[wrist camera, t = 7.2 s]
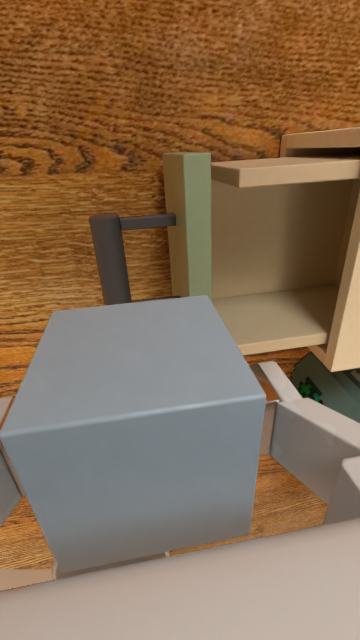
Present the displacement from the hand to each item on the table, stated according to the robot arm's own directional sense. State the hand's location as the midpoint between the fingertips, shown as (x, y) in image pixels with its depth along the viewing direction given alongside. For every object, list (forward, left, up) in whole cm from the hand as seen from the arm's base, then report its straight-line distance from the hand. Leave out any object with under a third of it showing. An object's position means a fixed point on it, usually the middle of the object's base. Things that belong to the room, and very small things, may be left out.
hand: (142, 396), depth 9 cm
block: (0, 0, -2) cm, 2 cm away
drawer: (0, +7, -15) cm, 17 cm away
